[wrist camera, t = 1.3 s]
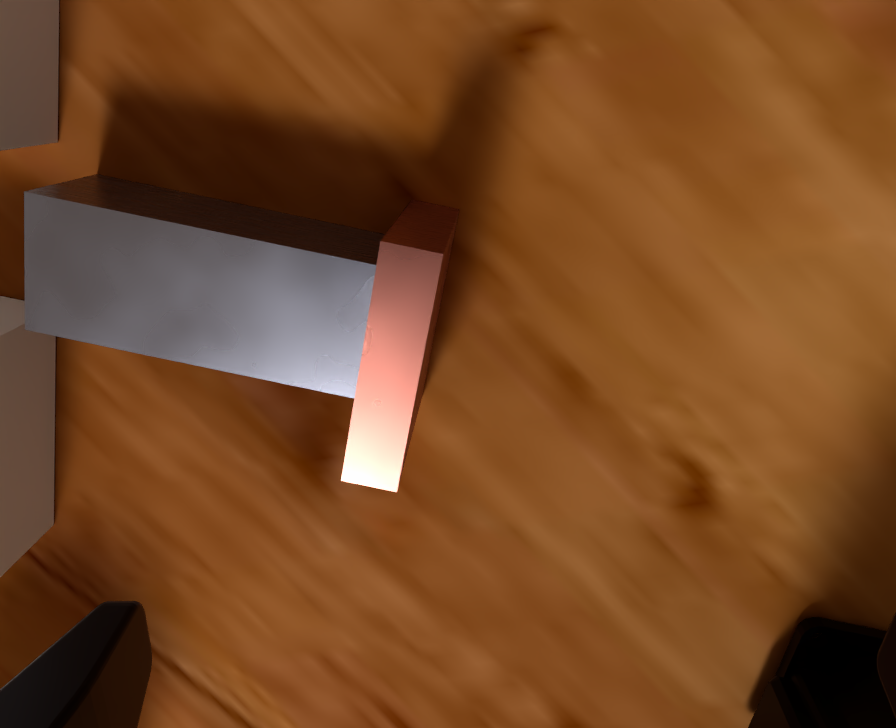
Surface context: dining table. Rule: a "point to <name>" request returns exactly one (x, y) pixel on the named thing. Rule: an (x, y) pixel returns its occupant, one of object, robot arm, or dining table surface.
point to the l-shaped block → (248, 296)
